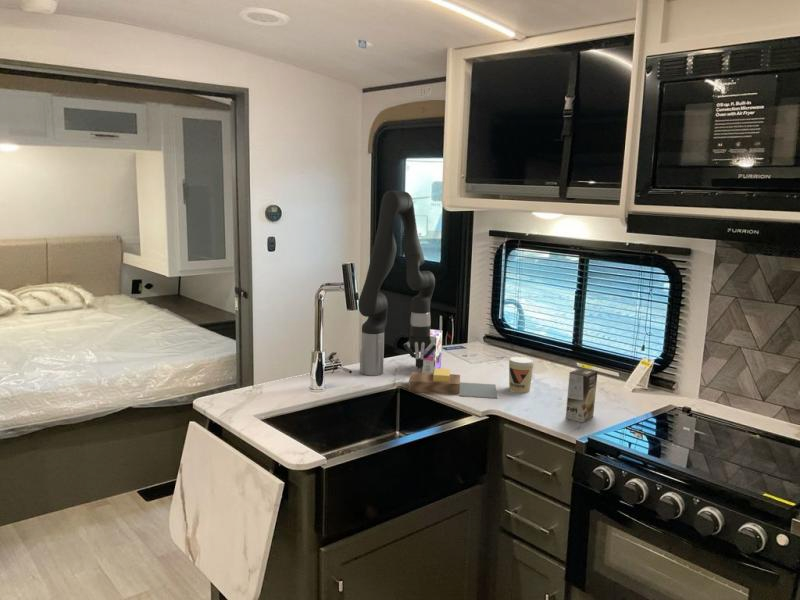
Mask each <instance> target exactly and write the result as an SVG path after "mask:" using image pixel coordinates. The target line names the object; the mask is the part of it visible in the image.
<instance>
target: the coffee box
mask: <svg viewBox="0 0 800 600" xmlns="http://www.w3.org/2000/svg"><path fill="white" fill-rule="evenodd" d="M597 379H598V370H594V369H588V368H584V367H583V368H582V367H579V368H577V369H575V370H572V371H570V372H569V377H568V387H567V398H566V409H565V419H568V420H572V421H576V422H579V423H584V422H586V421H587V420H589V419H590V418H592V417H594V412H595V403H596V402H595V400H596V392H597V383H598V382H597Z"/></svg>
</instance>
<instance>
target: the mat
mask: <svg viewBox="0 0 800 600" xmlns="http://www.w3.org/2000/svg"><path fill="white" fill-rule="evenodd" d="M458 395H459V397H464V398H466V397H467V398H481V399H482V398H484V399H496V400H497V399H499V397H498V392H497V385H496V384H493V383H475V382H463V381H462V382H461V381H460V392H459V394H458Z"/></svg>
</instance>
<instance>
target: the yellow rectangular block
mask: <svg viewBox="0 0 800 600" xmlns="http://www.w3.org/2000/svg"><path fill="white" fill-rule="evenodd" d="M450 374H451V369H450V368H441V367H440V368H435V369H434V375H433V381H436V382H449V378H450Z"/></svg>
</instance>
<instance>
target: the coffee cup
mask: <svg viewBox="0 0 800 600" xmlns="http://www.w3.org/2000/svg"><path fill="white" fill-rule="evenodd" d="M534 364H535V363H534V360H533V359H532V358H530V357H525V356H513V357H510V358H509V359H508V365H509V366H508V369H509V371H508V373H509V374H508V384H509V387H508V388H509V390H510V391H511V392H512V393H516V394H526V393H530V390H531V384H532V378H533V371H534Z"/></svg>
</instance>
